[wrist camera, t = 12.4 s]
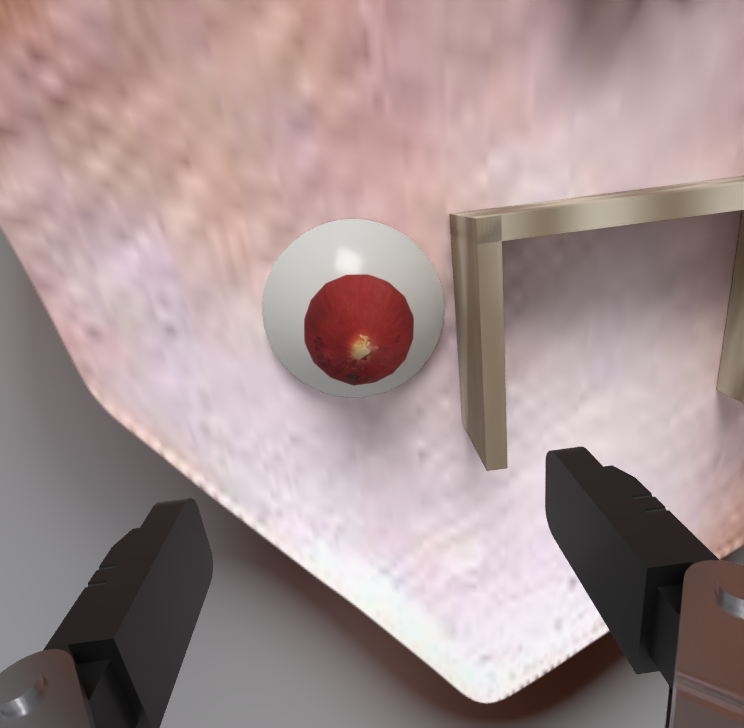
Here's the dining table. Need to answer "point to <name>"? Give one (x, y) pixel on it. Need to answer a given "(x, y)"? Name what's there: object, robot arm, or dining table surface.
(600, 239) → the dining table surface
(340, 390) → the white flat disc
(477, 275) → the wooden plank arch
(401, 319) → the onion
